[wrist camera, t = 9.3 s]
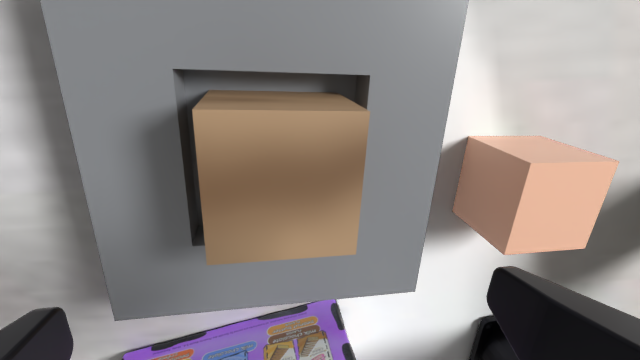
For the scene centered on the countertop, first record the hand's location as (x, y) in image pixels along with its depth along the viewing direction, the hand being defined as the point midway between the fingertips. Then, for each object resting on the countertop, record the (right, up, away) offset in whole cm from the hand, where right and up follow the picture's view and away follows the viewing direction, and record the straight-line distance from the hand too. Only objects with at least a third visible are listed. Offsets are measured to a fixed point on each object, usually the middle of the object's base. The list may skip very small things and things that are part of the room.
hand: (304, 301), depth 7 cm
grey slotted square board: (-2, +4, +11) cm, 12 cm away
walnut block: (-2, +4, +10) cm, 11 cm away
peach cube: (+11, +3, +14) cm, 19 cm away
